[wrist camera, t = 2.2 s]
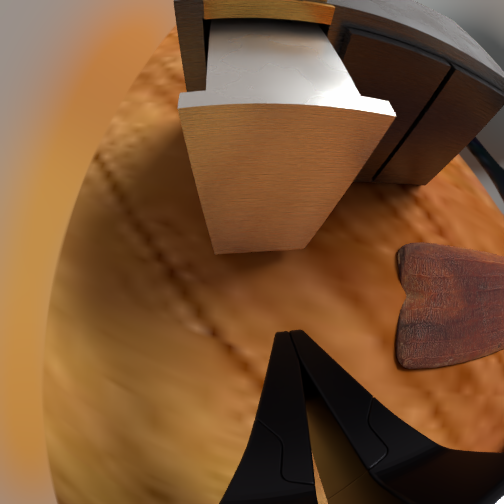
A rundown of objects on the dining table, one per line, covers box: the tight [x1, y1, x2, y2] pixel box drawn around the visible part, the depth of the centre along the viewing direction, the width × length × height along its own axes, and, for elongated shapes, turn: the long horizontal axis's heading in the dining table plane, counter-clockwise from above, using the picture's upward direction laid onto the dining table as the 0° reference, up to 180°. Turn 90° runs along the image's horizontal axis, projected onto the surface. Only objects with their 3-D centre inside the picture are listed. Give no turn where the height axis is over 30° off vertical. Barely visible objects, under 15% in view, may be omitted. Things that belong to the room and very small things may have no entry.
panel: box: [178, 18, 396, 254], centre depth 12 cm, size 8×6×12 cm
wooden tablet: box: [396, 243, 504, 369], centre depth 18 cm, size 27×10×2 cm, turn 86°
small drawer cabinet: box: [174, 0, 504, 185], centre depth 14 cm, size 9×19×14 cm, turn 95°
